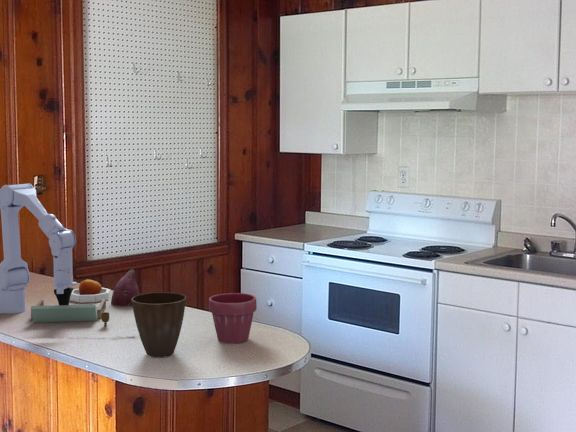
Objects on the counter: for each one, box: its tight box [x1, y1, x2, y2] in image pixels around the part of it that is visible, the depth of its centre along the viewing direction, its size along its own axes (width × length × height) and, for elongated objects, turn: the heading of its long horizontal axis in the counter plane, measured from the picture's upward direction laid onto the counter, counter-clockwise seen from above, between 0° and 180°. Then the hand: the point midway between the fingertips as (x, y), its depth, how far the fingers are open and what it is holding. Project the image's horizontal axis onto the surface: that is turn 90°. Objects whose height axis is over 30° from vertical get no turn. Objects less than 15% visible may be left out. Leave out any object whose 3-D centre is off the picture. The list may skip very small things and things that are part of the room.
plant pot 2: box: [208, 292, 258, 344], centre depth 233 cm, size 14×14×13 cm
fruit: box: [78, 278, 103, 295], centre depth 287 cm, size 8×8×8 cm
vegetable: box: [110, 268, 141, 307], centre depth 275 cm, size 10×10×15 cm
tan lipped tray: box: [30, 299, 107, 322], centre depth 259 cm, size 22×16×4 cm
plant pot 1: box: [131, 291, 187, 358], centre depth 219 cm, size 15×15×16 cm
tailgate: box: [30, 304, 98, 323], centre depth 248 cm, size 20×1×7 cm
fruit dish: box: [69, 287, 111, 304], centre depth 287 cm, size 14×14×2 cm
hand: (64, 311), depth 249 cm, fingers closed, pressing on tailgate
